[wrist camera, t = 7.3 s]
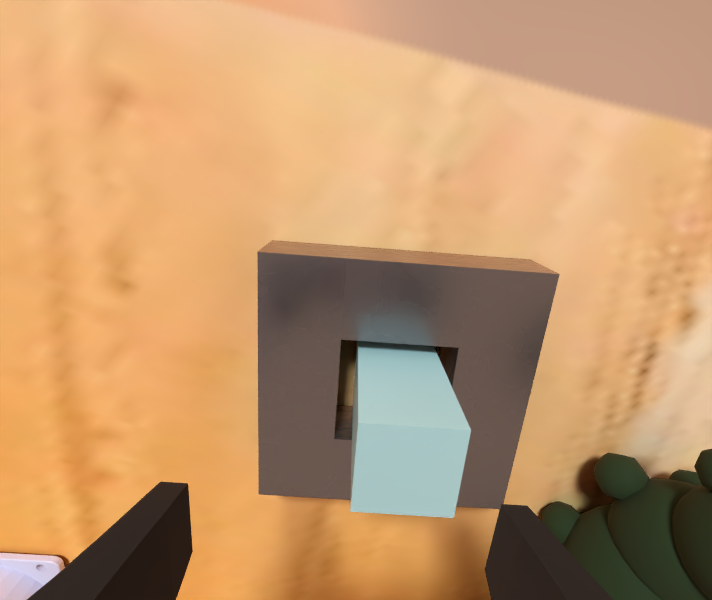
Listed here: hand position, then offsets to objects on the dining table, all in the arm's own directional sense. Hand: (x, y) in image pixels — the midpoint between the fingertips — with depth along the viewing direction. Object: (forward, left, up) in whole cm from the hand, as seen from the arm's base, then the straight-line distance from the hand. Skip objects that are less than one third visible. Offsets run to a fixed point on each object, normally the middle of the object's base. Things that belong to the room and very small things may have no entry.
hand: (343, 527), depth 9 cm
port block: (+2, -1, -9) cm, 10 cm away
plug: (+2, 0, -9) cm, 10 cm away
